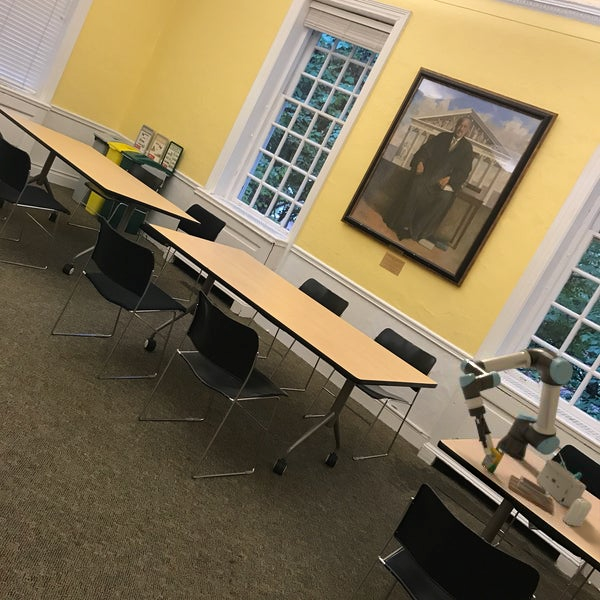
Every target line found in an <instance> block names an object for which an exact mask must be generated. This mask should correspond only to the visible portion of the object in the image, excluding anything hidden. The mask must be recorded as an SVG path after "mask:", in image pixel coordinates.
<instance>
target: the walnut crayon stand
mask: <svg viewBox="0 0 600 600" xmlns="http://www.w3.org/2000/svg"><path fill="white" fill-rule="evenodd" d="M507 485H508V486H507V489H509V490H511V491H512V492H514V493H515V494H517V495H519V496H521V497H522V498H524V499H525V500H528V502H531V503H532V504H534V505H536V506H537V507H538V508H541V510H544V511H546V512H547V513H548V514H550V515H552V514H553V512H554V506H553V503H554V501H553V499H554V498H553V497H550V496H549V495H550V494H549V492H548V491H547V490H545V489H544V488H543V487H542V486H541V485H539V484H538V483H537V484H536V483H535V482H533V481H531V480H530V479H528V478H527V477H525V476H523V475H521V476H520V478H519V477H517V476H516V475H513V474H511V475H510V477H509V479H508V484H507Z"/></svg>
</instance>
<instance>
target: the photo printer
mask: <svg viewBox="0 0 600 600" xmlns="http://www.w3.org/2000/svg"><path fill="white" fill-rule="evenodd" d="M592 507H593V506H592V503H591V502H590V501H589V500H587V499H586V498H580V499H577V500H575V501H574V502H573V503H572V505H571V506H570V507H568V509H567V511H566V513H565V515H564V516H563V518H562V521H563V520H564V521H563V522H564V523H565V522H566V523H567V524H566V523H565V524H566V525H568V524H569V525H568V526H572V525H573V526H574V527H581V526H582V524H583V522H584V521H585V520H586V518H587V516H588V515H589V513H590V512H591V510H592Z"/></svg>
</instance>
